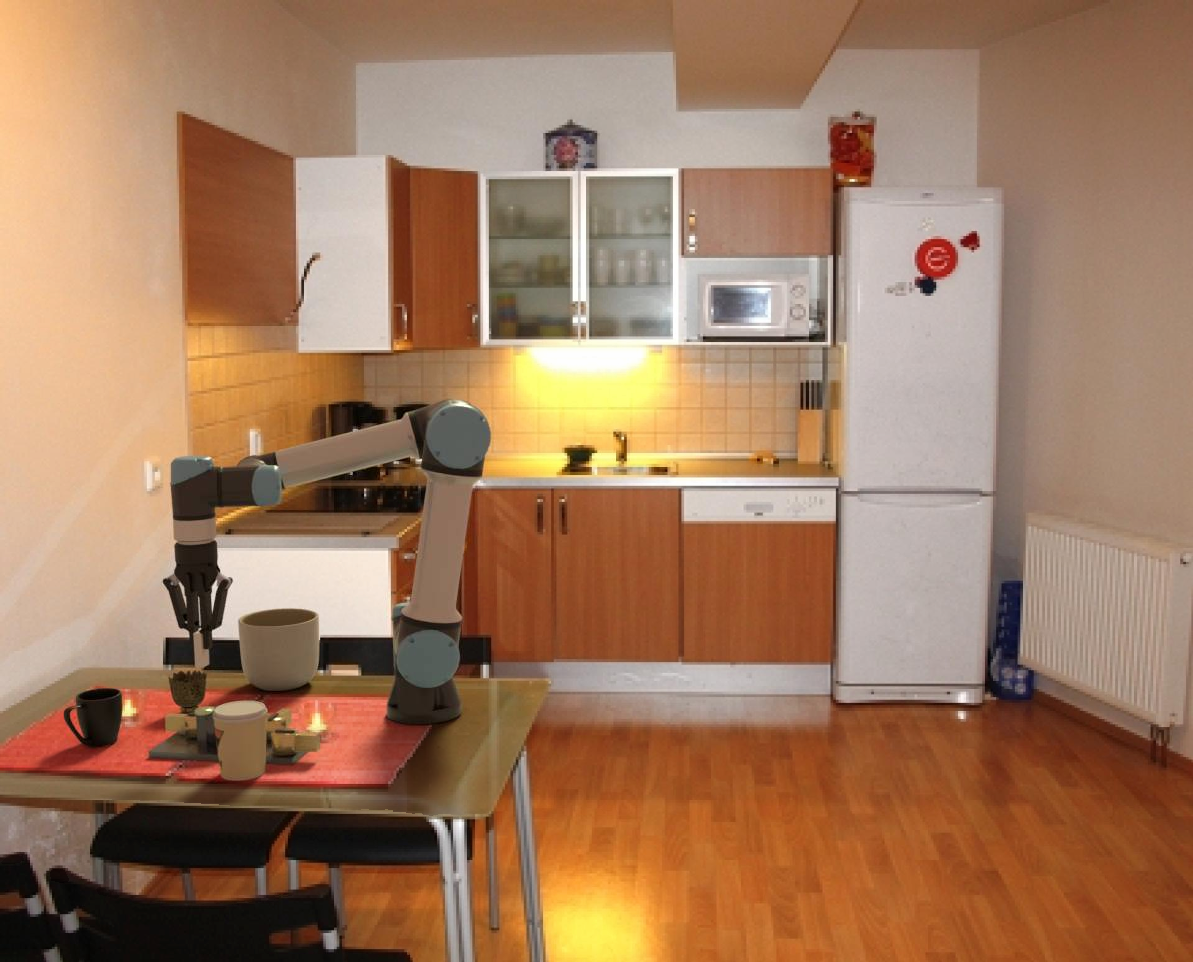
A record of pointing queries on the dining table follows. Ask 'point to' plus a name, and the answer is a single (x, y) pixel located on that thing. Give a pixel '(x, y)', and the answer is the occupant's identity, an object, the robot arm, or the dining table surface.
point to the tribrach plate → (209, 754)
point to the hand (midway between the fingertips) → (202, 665)
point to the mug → (97, 716)
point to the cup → (188, 690)
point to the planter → (279, 647)
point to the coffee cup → (241, 739)
